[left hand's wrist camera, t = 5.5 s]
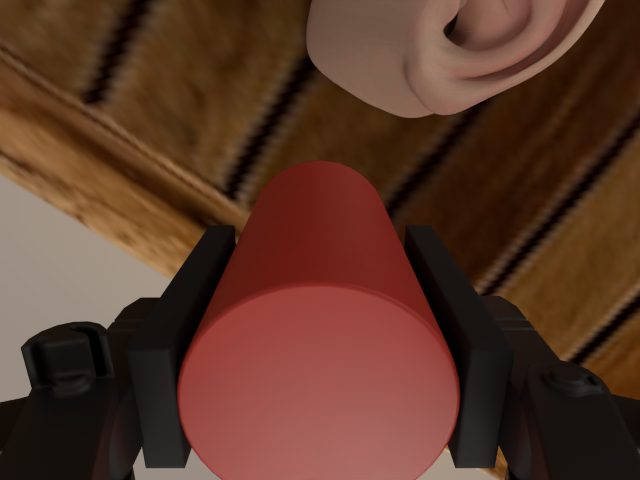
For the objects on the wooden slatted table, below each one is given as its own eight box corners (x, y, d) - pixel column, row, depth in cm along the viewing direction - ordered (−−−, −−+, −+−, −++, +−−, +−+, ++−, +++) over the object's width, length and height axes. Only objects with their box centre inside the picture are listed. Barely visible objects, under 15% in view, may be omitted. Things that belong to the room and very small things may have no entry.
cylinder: (351, 303, 19) (382, 541, 10) (233, 257, 18) (140, 464, 9) (409, 193, 18) (518, 347, 8) (282, 137, 17) (233, 233, 7)
